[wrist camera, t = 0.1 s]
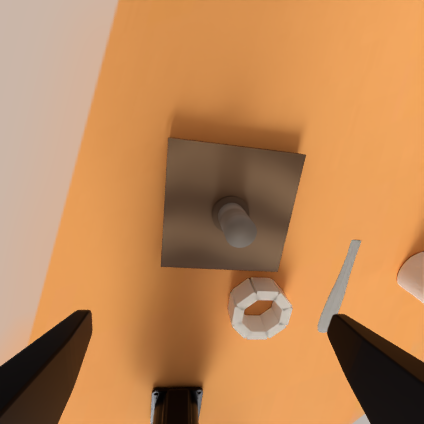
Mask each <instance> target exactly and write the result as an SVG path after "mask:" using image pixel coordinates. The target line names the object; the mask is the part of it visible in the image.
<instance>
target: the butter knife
mask: <svg viewBox="0 0 424 424" xmlns="http://www.w3.org/2000/svg"><path fill="white" fill-rule="evenodd" d="M360 243H361V241H360V240H352V241H351V243H350V247H349V250H348V254H347V256H346V259H345V261H344V264H343V267H342V269H341V272H340V274H339V276H338V278H337V280H336V283H335V285H334V287H333V289H332V291H331V293H330V295H329V297H328V300H327V302H326V304H325V307H324V309H323V312H322V314H321V317H320V320H319V323H318V331H319V332H322V333H325V332H327V329H328V326H329V323H330V321H331V318H332V316H333V315H334V314H338V311H339V309H340V306H341V303H342V300H343V297H344V294H345V290H346V287H347V283H348V279H349V276H350V273H351V270H352V267H353V263H354V260H355V257H356V254H357V252H358V249H359V246H360Z"/></svg>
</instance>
